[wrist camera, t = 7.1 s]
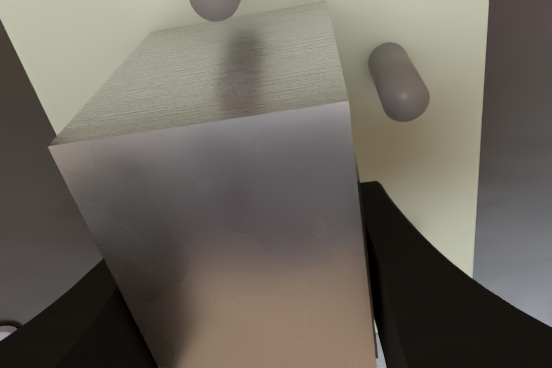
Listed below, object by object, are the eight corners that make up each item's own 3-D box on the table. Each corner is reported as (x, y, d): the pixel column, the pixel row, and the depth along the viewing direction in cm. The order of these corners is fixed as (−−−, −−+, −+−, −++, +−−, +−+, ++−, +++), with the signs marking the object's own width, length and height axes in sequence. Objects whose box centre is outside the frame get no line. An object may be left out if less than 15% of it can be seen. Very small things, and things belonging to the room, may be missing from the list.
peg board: (461, 303, 19) (492, 384, 16) (166, 330, 20) (144, 409, 17) (483, -170, 10) (555, -185, 8) (-14, -63, 12) (-114, -41, 9)
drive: (361, 270, 16) (389, 446, 11) (230, 283, 17) (203, 457, 12) (330, -1, 12) (355, 100, 7) (150, 32, 12) (47, 146, 7)
